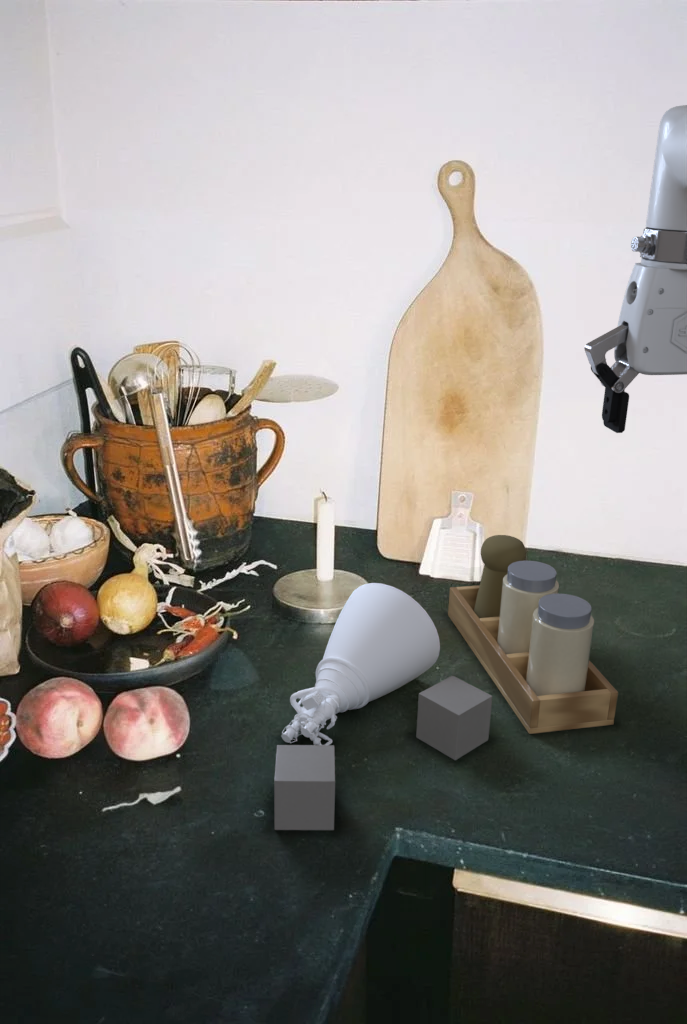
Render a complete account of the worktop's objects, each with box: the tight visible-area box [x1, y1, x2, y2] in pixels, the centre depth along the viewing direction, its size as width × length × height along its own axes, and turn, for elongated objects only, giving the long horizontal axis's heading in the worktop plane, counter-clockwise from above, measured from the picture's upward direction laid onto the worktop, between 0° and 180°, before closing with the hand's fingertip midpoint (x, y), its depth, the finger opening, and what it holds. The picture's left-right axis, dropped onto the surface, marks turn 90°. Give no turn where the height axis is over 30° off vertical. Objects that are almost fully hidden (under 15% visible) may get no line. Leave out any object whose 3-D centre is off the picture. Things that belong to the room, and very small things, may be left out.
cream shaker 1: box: [497, 560, 560, 654], centre depth 103 cm, size 6×6×11 cm
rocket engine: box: [280, 582, 441, 745], centre depth 94 cm, size 12×12×18 cm
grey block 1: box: [273, 744, 336, 831], centre depth 80 cm, size 5×5×5 cm
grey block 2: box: [415, 675, 493, 761], centre depth 90 cm, size 5×5×5 cm
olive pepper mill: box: [474, 534, 527, 619], centre depth 110 cm, size 6×6×11 cm
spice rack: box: [447, 584, 619, 735], centre depth 104 cm, size 9×26×4 cm, turn 12°
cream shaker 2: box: [526, 592, 595, 696], centre depth 95 cm, size 6×6×11 cm
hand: (658, 427), depth 93 cm, fingers open, 9 cm apart
